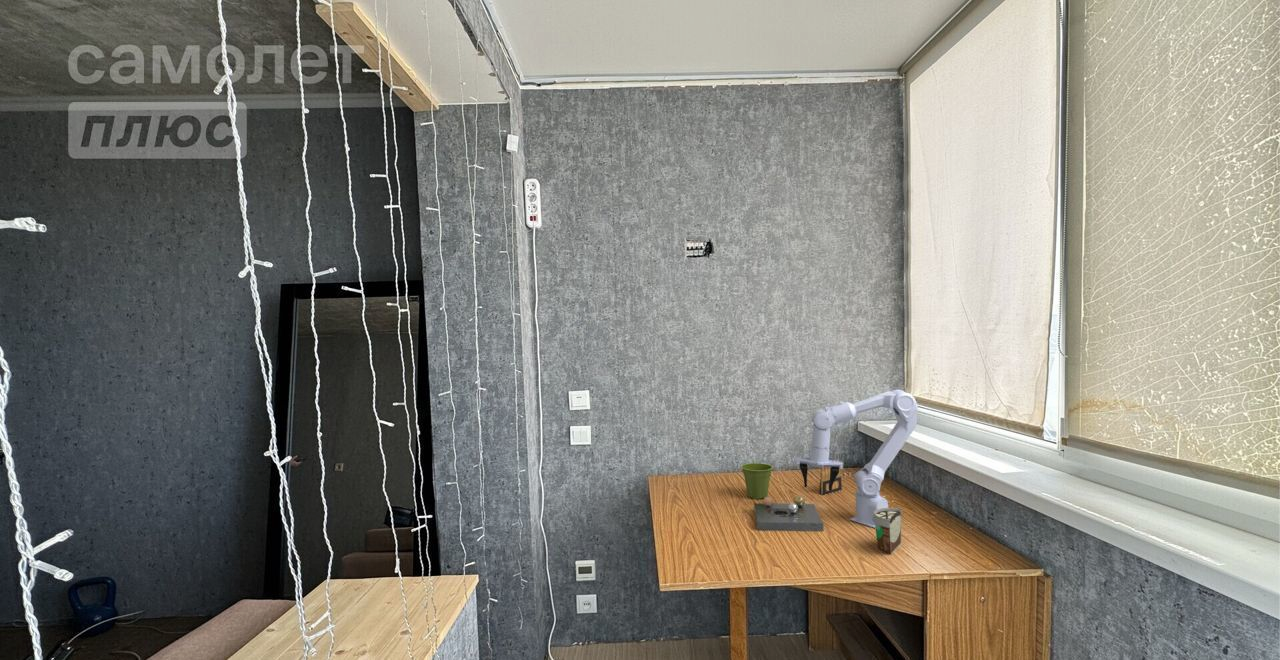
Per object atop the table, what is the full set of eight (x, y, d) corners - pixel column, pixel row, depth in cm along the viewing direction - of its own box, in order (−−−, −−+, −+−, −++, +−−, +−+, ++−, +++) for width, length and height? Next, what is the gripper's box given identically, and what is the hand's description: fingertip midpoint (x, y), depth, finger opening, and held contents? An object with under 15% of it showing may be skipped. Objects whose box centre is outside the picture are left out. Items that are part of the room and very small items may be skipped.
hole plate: (813, 511, 202) (813, 503, 202) (823, 531, 183) (823, 523, 183) (754, 510, 205) (754, 503, 205) (758, 530, 186) (757, 522, 186)
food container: (880, 537, 176) (880, 504, 176) (902, 542, 173) (901, 508, 172) (866, 551, 167) (866, 516, 167) (889, 556, 163) (888, 520, 163)
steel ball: (800, 513, 193) (799, 503, 193) (793, 515, 192) (793, 505, 191) (792, 510, 196) (792, 500, 196) (786, 512, 194) (785, 502, 194)
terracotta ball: (774, 506, 201) (774, 497, 201) (767, 507, 200) (767, 499, 200) (768, 503, 204) (767, 495, 204) (761, 505, 202) (761, 496, 202)
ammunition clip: (823, 495, 219) (822, 463, 219) (819, 494, 221) (818, 462, 220) (842, 489, 225) (841, 458, 225) (837, 488, 227) (837, 457, 226)
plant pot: (777, 501, 214) (776, 470, 214) (744, 501, 215) (743, 471, 214) (770, 491, 226) (769, 462, 226) (739, 492, 227) (738, 463, 226)
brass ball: (807, 506, 200) (807, 495, 200) (799, 508, 198) (799, 497, 198) (799, 503, 203) (798, 493, 203) (791, 505, 201) (791, 495, 201)
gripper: (797, 447, 190) (795, 488, 191) (845, 451, 187) (842, 494, 188) (797, 442, 197) (794, 482, 198) (842, 447, 194) (840, 488, 194)
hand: (817, 488), depth 193 cm, fingers open, 7 cm apart
